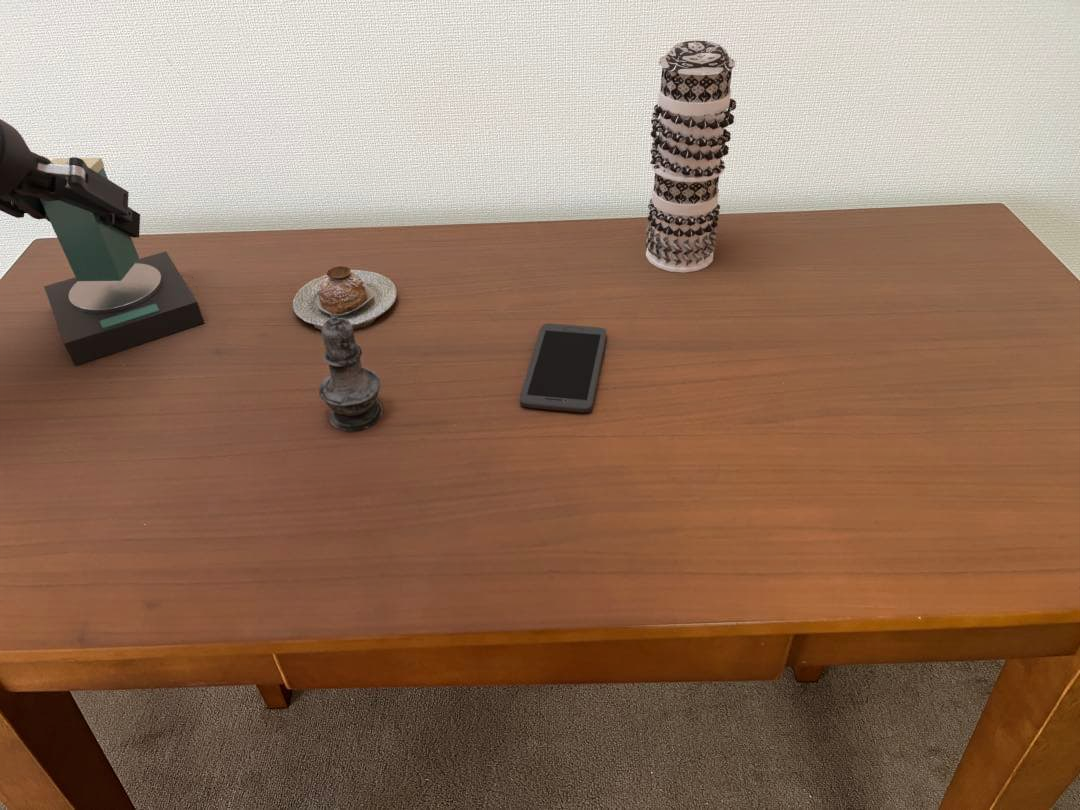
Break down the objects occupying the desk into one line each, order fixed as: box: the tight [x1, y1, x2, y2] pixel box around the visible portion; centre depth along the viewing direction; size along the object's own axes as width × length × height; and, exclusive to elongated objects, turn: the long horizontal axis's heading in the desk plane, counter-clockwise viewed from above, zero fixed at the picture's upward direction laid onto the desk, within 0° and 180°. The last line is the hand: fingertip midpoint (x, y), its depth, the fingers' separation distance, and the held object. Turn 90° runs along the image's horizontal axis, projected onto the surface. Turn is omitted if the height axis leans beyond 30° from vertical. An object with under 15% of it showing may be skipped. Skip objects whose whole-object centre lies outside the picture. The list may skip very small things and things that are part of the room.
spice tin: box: [40, 157, 140, 281], centre depth 89 cm, size 5×5×12 cm
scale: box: [43, 250, 205, 367], centre depth 95 cm, size 14×14×3 cm
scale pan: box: [69, 263, 162, 314], centre depth 95 cm, size 10×10×1 cm
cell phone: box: [519, 323, 607, 414], centre depth 85 cm, size 7×14×1 cm, turn 170°
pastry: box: [292, 265, 398, 331], centre depth 95 cm, size 12×12×5 cm
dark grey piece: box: [318, 312, 384, 433], centre depth 77 cm, size 6×6×12 cm
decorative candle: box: [645, 40, 737, 274], centre depth 95 cm, size 9×9×25 cm
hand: (111, 226), depth 94 cm, fingers closed on spice tin, 5 cm apart
